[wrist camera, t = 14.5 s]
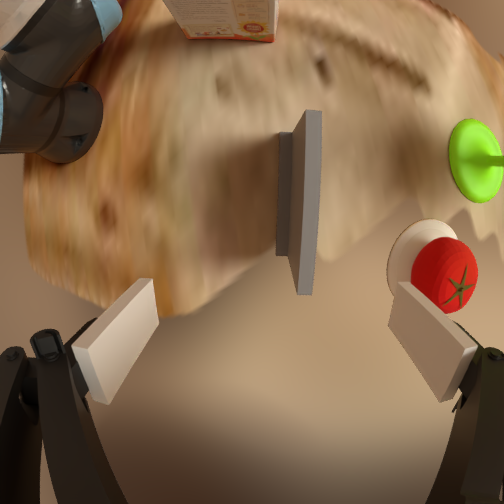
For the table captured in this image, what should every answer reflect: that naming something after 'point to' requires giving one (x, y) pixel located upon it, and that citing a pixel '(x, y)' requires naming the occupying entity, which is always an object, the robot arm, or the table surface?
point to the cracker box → (226, 18)
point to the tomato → (445, 273)
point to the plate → (412, 248)
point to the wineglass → (476, 160)
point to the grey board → (300, 198)
